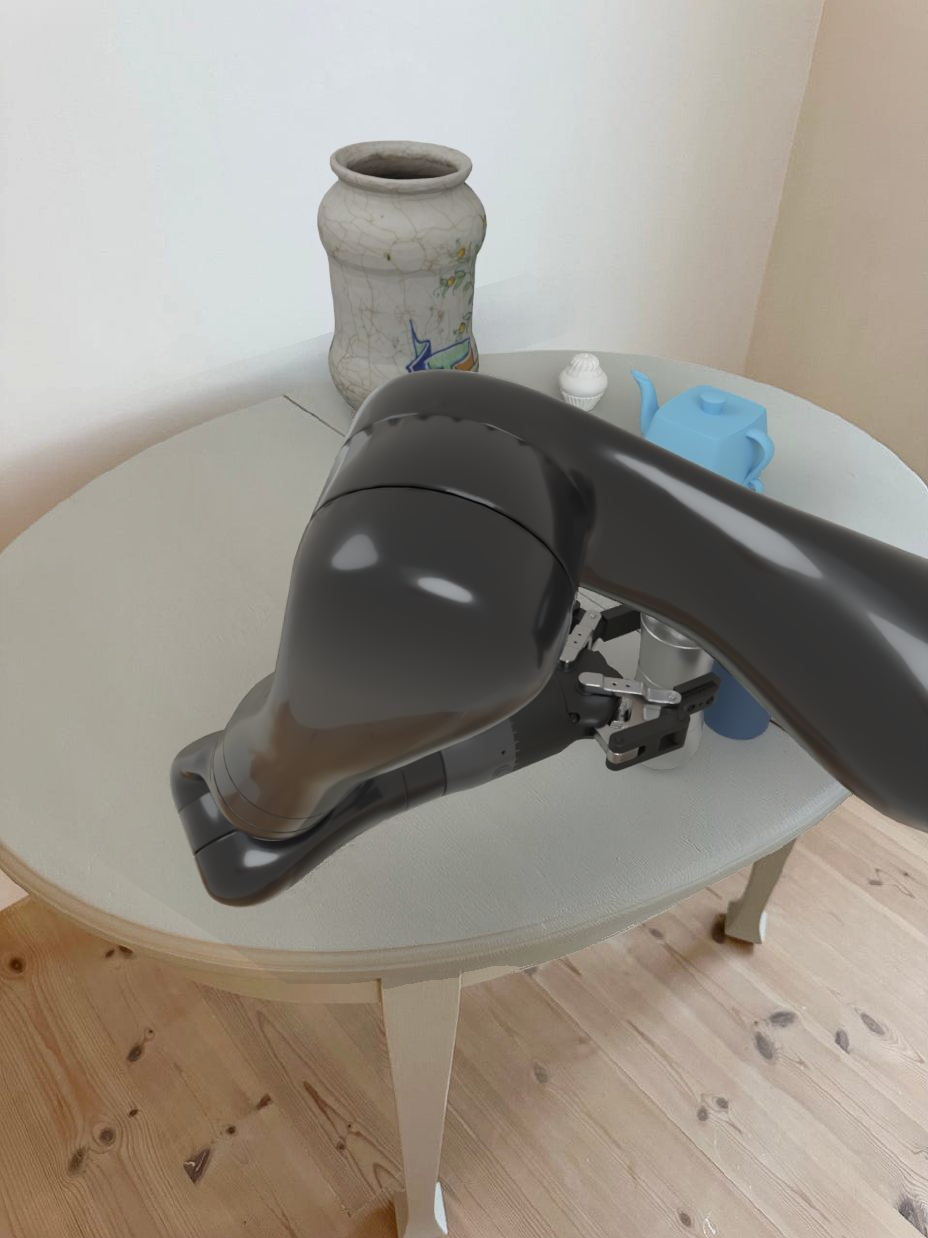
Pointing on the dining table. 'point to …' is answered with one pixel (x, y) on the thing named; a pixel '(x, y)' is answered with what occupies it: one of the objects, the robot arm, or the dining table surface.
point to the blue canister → (735, 710)
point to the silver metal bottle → (670, 679)
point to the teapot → (709, 430)
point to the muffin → (583, 381)
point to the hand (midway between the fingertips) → (678, 647)
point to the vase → (400, 262)
